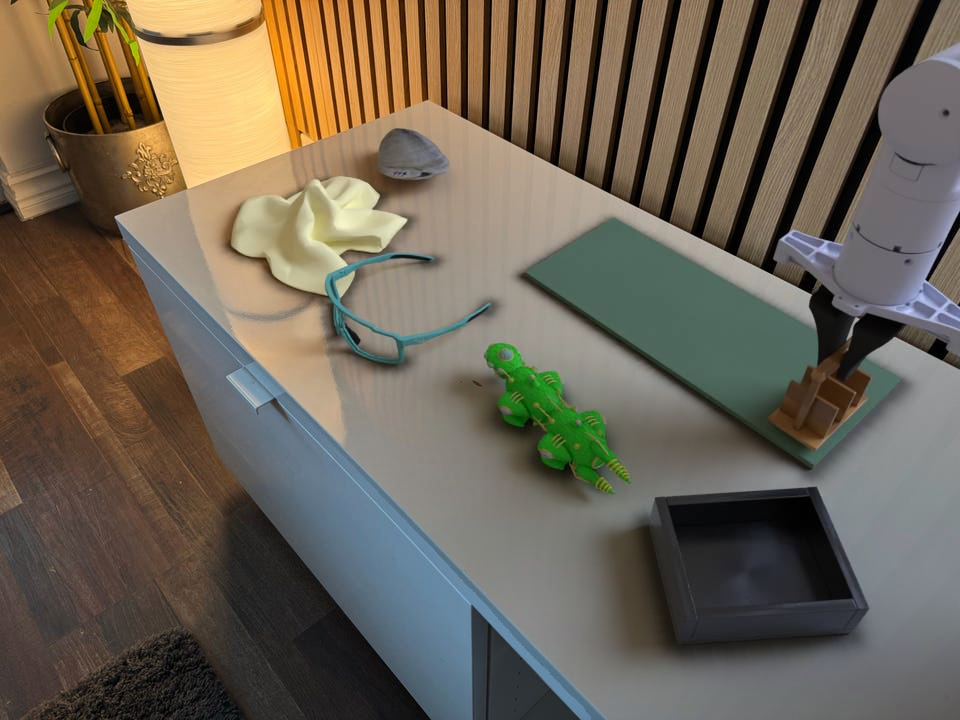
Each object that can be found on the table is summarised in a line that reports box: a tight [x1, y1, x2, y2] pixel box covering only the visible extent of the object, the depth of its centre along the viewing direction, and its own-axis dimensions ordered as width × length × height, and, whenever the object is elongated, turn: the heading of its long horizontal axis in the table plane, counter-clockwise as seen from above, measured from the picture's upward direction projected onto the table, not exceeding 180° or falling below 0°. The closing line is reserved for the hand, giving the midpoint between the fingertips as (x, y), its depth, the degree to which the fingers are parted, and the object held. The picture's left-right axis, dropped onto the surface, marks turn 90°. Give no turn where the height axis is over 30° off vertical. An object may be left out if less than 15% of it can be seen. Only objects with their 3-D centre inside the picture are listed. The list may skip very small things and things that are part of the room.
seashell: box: [376, 127, 451, 181], centre depth 93 cm, size 12×8×5 cm
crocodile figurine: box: [483, 342, 632, 495], centre depth 64 cm, size 7×18×4 cm, turn 34°
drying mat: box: [524, 216, 902, 470], centre depth 74 cm, size 34×14×1 cm, turn 41°
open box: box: [648, 486, 870, 646], centre depth 54 cm, size 12×10×4 cm
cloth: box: [230, 175, 408, 299], centre depth 84 cm, size 22×19×6 cm
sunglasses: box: [325, 252, 491, 365], centre depth 75 cm, size 14×15×5 cm
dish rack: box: [767, 335, 873, 452], centre depth 61 cm, size 8×4×8 cm, turn 131°
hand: (836, 367), depth 60 cm, fingers closed on dish rack
